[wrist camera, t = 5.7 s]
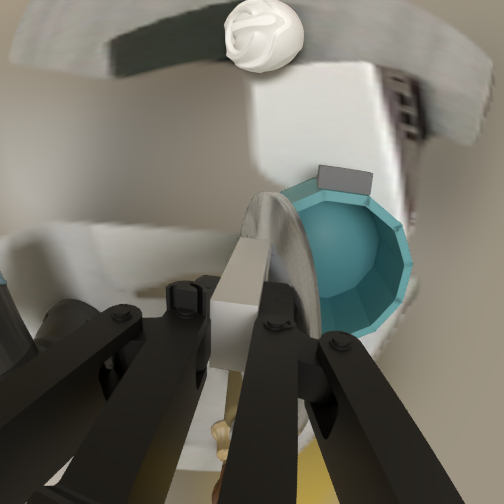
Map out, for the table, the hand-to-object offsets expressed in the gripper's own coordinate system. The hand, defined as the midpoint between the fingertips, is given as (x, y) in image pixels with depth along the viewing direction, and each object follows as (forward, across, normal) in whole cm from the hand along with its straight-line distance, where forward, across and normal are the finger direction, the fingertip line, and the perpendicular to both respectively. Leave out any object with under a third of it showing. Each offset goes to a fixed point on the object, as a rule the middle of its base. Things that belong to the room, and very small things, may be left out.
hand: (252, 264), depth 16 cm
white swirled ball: (+19, -2, +17) cm, 25 cm away
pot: (+18, +6, -4) cm, 20 cm away
